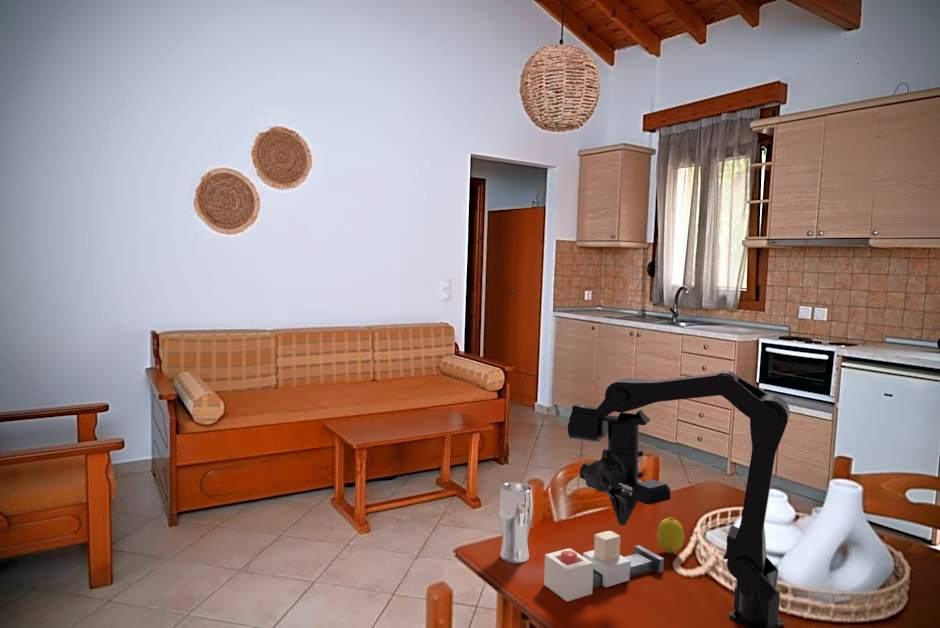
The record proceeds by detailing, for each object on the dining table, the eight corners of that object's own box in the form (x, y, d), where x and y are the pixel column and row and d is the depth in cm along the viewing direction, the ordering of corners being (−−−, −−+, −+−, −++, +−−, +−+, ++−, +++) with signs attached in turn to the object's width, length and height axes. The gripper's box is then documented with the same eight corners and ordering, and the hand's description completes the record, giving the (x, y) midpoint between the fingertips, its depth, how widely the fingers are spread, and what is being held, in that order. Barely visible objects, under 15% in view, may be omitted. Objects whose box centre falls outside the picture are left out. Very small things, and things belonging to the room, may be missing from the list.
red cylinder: (579, 581, 117) (580, 555, 117) (566, 585, 116) (567, 559, 116) (569, 574, 120) (570, 549, 120) (557, 578, 118) (557, 552, 118)
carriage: (629, 580, 121) (631, 539, 121) (606, 587, 118) (608, 545, 118) (605, 565, 127) (606, 525, 127) (582, 572, 124) (584, 531, 124)
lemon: (684, 560, 131) (686, 523, 131) (657, 557, 132) (659, 520, 132) (681, 549, 136) (682, 513, 136) (655, 546, 138) (656, 511, 137)
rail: (663, 571, 126) (663, 558, 126) (598, 592, 117) (598, 577, 117) (638, 557, 132) (638, 545, 132) (574, 575, 123) (575, 562, 123)
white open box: (592, 593, 116) (593, 562, 116) (567, 601, 114) (568, 569, 113) (568, 577, 123) (569, 548, 122) (544, 584, 120) (545, 554, 119)
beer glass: (492, 559, 130) (494, 489, 129) (506, 546, 136) (508, 479, 135) (523, 567, 126) (525, 495, 125) (536, 554, 133) (538, 485, 132)
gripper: (559, 439, 122) (558, 517, 123) (628, 463, 106) (627, 552, 107) (601, 432, 128) (600, 506, 129) (672, 454, 112) (671, 538, 113)
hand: (622, 524), depth 119 cm, fingers closed
